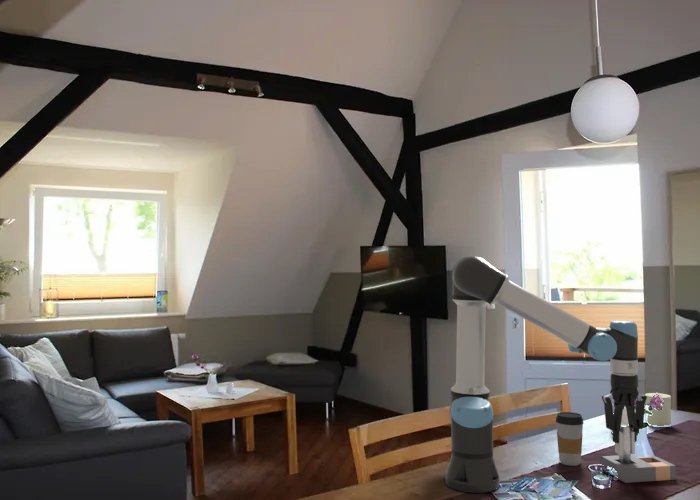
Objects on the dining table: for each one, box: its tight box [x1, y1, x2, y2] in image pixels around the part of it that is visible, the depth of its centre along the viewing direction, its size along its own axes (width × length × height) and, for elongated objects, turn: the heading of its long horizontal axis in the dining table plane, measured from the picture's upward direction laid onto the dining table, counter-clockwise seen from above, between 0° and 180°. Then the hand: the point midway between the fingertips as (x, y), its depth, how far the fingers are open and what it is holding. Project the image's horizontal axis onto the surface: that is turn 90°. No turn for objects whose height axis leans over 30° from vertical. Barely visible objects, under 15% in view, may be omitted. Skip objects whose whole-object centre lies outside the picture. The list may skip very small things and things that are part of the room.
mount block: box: [601, 454, 677, 484], centre depth 191 cm, size 16×12×4 cm
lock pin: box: [618, 425, 632, 464], centre depth 190 cm, size 3×3×14 cm
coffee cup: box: [555, 411, 584, 466], centre depth 202 cm, size 8×8×15 cm
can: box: [644, 392, 672, 426], centre depth 249 cm, size 9×9×12 cm
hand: (624, 453), depth 190 cm, fingers closed on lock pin, 3 cm apart
